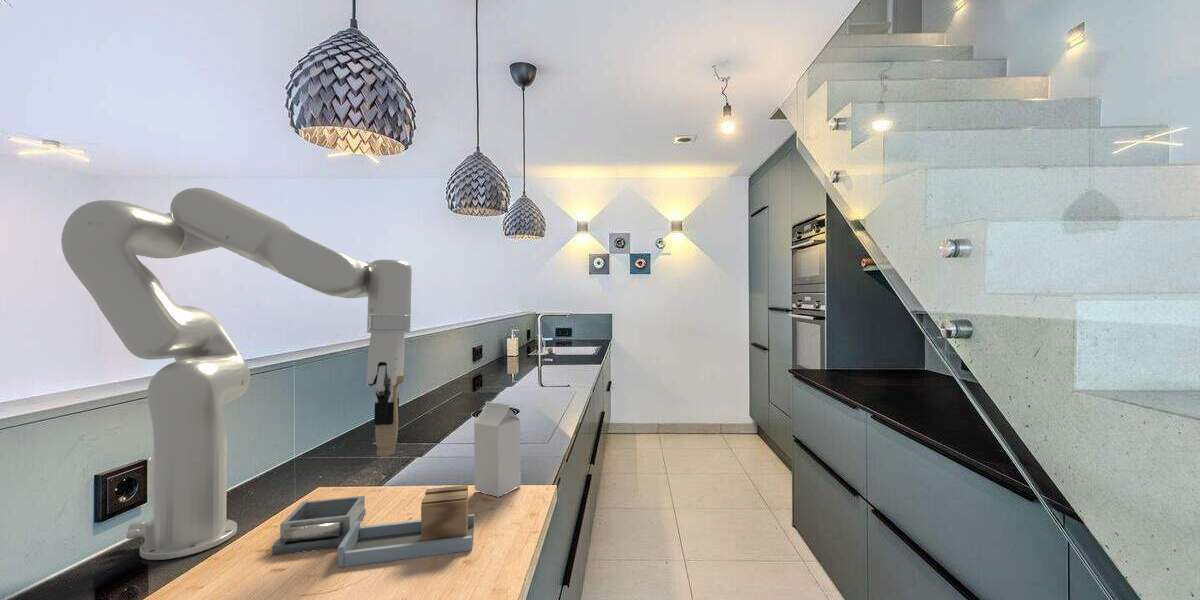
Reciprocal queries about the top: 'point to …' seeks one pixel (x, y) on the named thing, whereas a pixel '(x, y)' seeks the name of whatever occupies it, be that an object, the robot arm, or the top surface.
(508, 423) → the milk carton
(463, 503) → the crate
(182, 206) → the robot arm
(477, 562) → the top surface
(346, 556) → the bay
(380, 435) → the handle
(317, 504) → the gray square tray
